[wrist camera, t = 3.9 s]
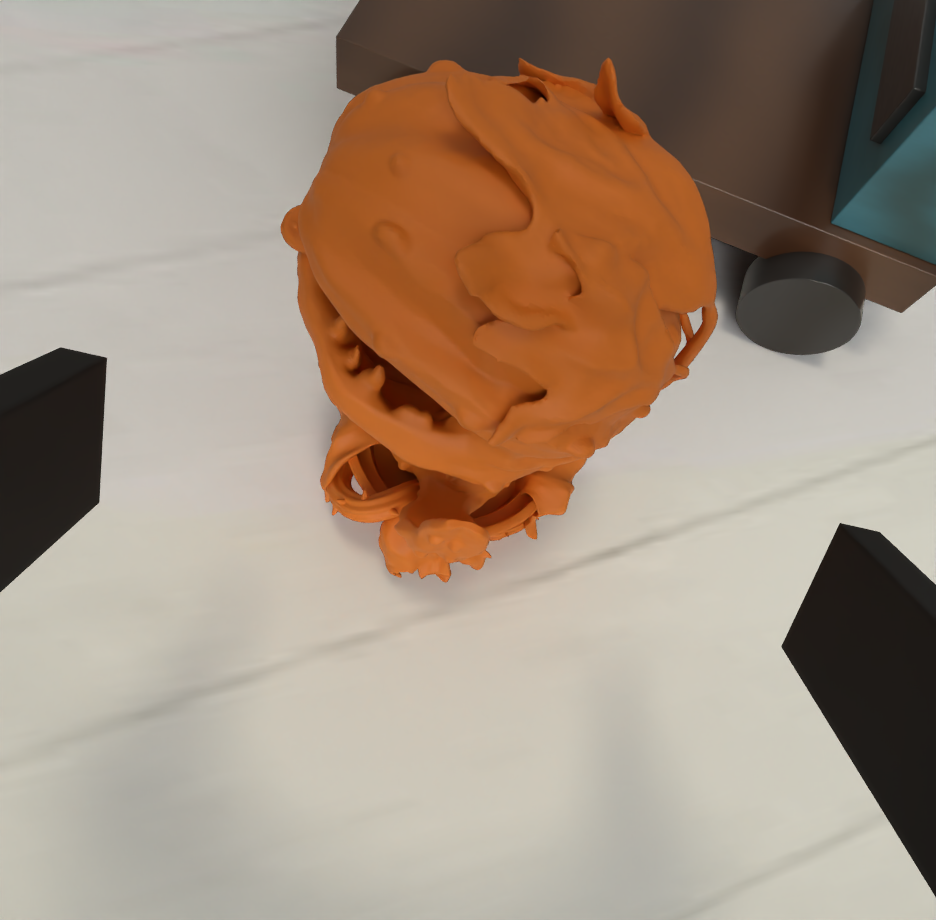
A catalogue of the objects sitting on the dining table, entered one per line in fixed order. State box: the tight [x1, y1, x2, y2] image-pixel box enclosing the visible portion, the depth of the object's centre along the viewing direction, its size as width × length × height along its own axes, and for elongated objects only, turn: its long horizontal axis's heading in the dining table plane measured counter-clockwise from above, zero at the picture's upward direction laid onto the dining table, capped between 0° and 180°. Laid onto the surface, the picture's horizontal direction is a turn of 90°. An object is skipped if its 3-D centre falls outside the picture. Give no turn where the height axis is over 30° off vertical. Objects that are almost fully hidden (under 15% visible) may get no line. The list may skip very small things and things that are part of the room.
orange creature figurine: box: [281, 58, 718, 582], centre depth 22 cm, size 11×11×18 cm
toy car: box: [336, 0, 936, 355], centre depth 33 cm, size 26×21×12 cm
